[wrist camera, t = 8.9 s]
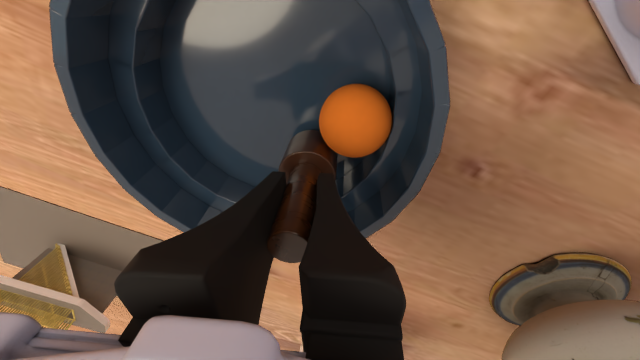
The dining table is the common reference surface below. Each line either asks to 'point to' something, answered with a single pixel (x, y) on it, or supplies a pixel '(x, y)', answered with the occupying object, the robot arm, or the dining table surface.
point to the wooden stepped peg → (299, 194)
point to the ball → (355, 120)
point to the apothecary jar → (569, 310)
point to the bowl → (248, 95)
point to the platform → (61, 262)
